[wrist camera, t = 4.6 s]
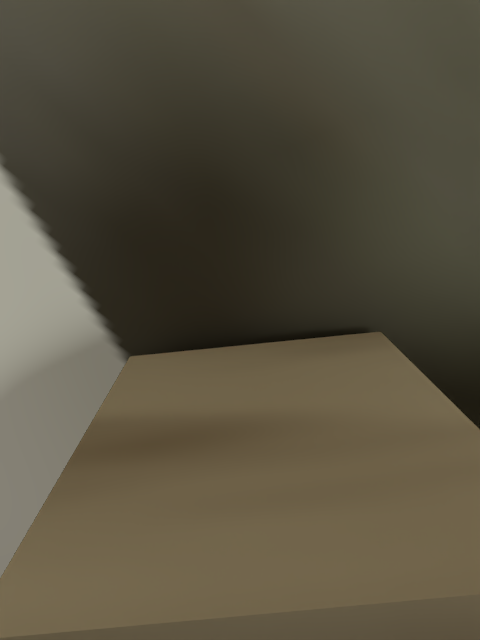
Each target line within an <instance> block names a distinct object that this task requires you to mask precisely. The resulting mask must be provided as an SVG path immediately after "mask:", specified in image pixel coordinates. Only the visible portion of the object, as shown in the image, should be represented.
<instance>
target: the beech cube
mask: <svg viewBox="0 0 480 640" xmlns="http://www.w3.org/2000/svg"><path fill="white" fill-rule="evenodd" d="M0 640H480V429H479V428H478V427H477V426H476V425H475V424H474V423H473V422H472V421H471V420H470V419H469V418H468V417H467V416H466V415H465V414H464V413H462V412H461V411H460V410H459V409H458V408H457V407H456V406H455V405H454V404H453V403H452V402H451V401H450V400H449V399H448V398H447V397H446V396H445V395H444V394H443V393H442V392H441V391H440V390H439V389H438V388H437V387H436V386H435V385H434V384H433V383H432V382H431V381H430V380H429V379H428V378H427V377H426V376H425V375H424V374H423V373H422V372H421V371H420V370H419V369H418V368H417V367H416V366H415V365H414V364H413V363H412V362H411V361H410V360H409V359H408V358H407V357H406V356H405V355H404V354H403V353H402V352H401V351H400V350H399V349H398V348H397V347H396V346H395V345H394V344H393V343H392V342H391V341H390V340H389V339H388V338H387V337H386V336H385V335H383V334H382V333H381V332H372V333H362V334H351V335H341V336H331V337H321V338H311V339H301V340H291V341H281V342H271V343H261V344H251V345H241V346H230V347H220V348H210V349H200V350H190V351H180V352H170V353H160V354H150V355H140V356H130V357H129V359H128V361H127V362H126V364H125V366H124V367H123V369H122V371H121V373H120V374H119V376H118V378H117V380H116V381H115V383H114V385H113V386H112V388H111V390H110V392H109V393H108V395H107V397H106V398H105V400H104V402H103V403H102V405H101V407H100V409H99V410H98V412H97V414H96V415H95V417H94V419H93V421H92V422H91V424H90V426H89V427H88V429H87V431H86V433H85V434H84V436H83V438H82V439H81V441H80V443H79V445H78V446H77V448H76V450H75V451H74V453H73V455H72V457H71V458H70V460H69V462H68V463H67V465H66V467H65V469H64V470H63V472H62V474H61V476H60V477H59V479H58V481H57V482H56V484H55V486H54V487H53V489H52V491H51V493H50V494H49V496H48V498H47V499H46V501H45V503H44V504H43V506H42V508H41V510H40V511H39V513H38V515H37V516H36V518H35V520H34V522H33V523H32V525H31V527H30V529H29V530H28V532H27V534H26V535H25V537H24V539H23V541H22V542H21V544H20V546H19V547H18V549H17V551H16V552H15V554H14V556H13V558H12V559H11V561H10V563H9V565H8V566H7V568H6V570H5V571H4V573H3V575H2V576H1V578H0Z"/></svg>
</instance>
